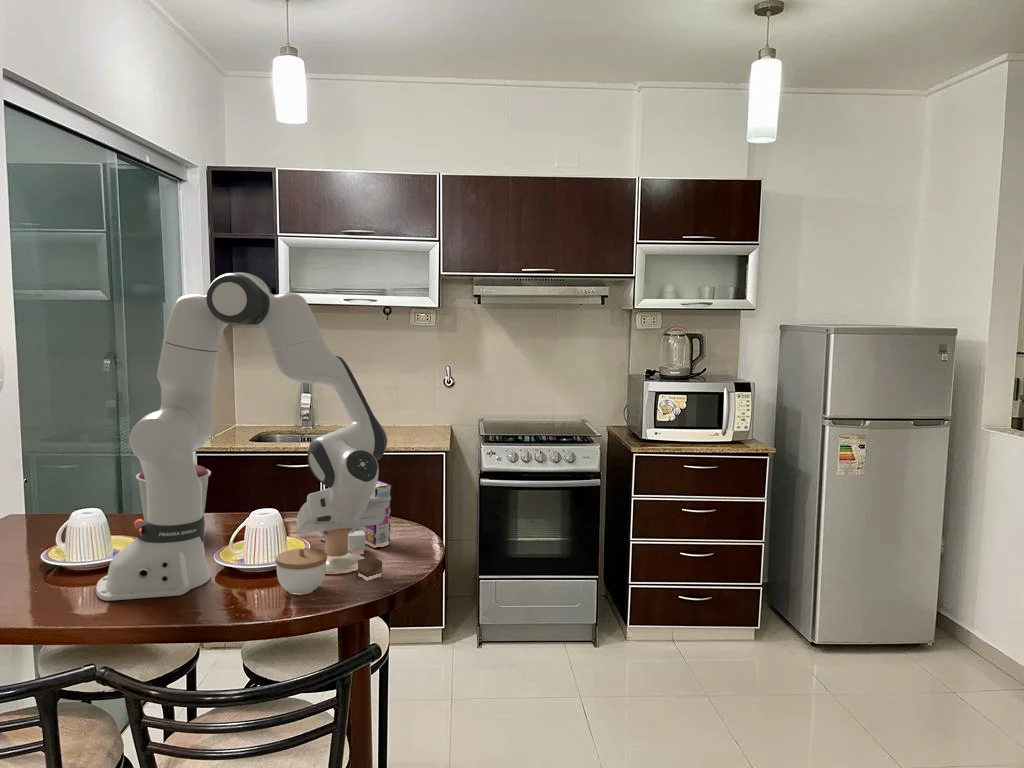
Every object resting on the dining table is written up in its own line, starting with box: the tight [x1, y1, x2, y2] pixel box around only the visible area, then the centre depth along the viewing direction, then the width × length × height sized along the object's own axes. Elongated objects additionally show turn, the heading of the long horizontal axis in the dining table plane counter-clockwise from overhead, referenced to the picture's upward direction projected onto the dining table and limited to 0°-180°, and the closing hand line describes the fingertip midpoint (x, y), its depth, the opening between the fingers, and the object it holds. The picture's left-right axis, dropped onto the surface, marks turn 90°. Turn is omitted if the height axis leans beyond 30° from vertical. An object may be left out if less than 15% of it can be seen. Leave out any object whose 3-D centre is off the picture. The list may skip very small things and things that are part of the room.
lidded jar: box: [275, 547, 327, 593], centre depth 158 cm, size 11×11×9 cm
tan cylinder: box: [324, 528, 348, 557], centre depth 175 cm, size 5×5×10 cm
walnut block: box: [357, 556, 383, 577], centre depth 168 cm, size 4×4×4 cm
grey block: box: [348, 531, 366, 551], centre depth 185 cm, size 4×4×5 cm
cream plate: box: [326, 553, 360, 572], centre depth 175 cm, size 14×14×1 cm
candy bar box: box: [355, 480, 392, 545], centre depth 192 cm, size 11×5×16 cm, turn 42°
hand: (336, 532), depth 175 cm, fingers closed on tan cylinder, 5 cm apart
